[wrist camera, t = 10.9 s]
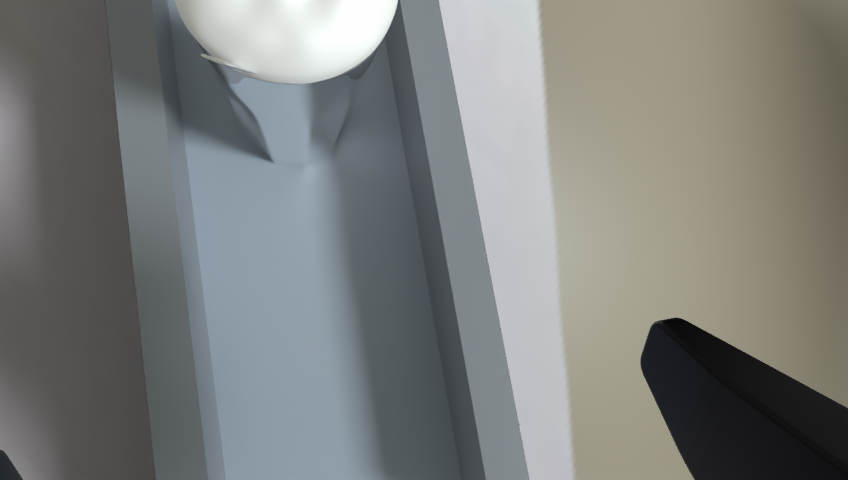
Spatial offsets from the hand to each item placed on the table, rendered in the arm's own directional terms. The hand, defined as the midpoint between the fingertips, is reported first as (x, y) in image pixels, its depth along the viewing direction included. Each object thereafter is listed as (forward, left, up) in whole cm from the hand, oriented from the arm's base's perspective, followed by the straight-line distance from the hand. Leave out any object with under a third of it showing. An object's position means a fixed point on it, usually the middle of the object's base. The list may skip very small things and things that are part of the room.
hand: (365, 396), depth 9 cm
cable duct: (+6, 0, -12) cm, 13 cm away
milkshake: (+8, 0, -11) cm, 14 cm away
